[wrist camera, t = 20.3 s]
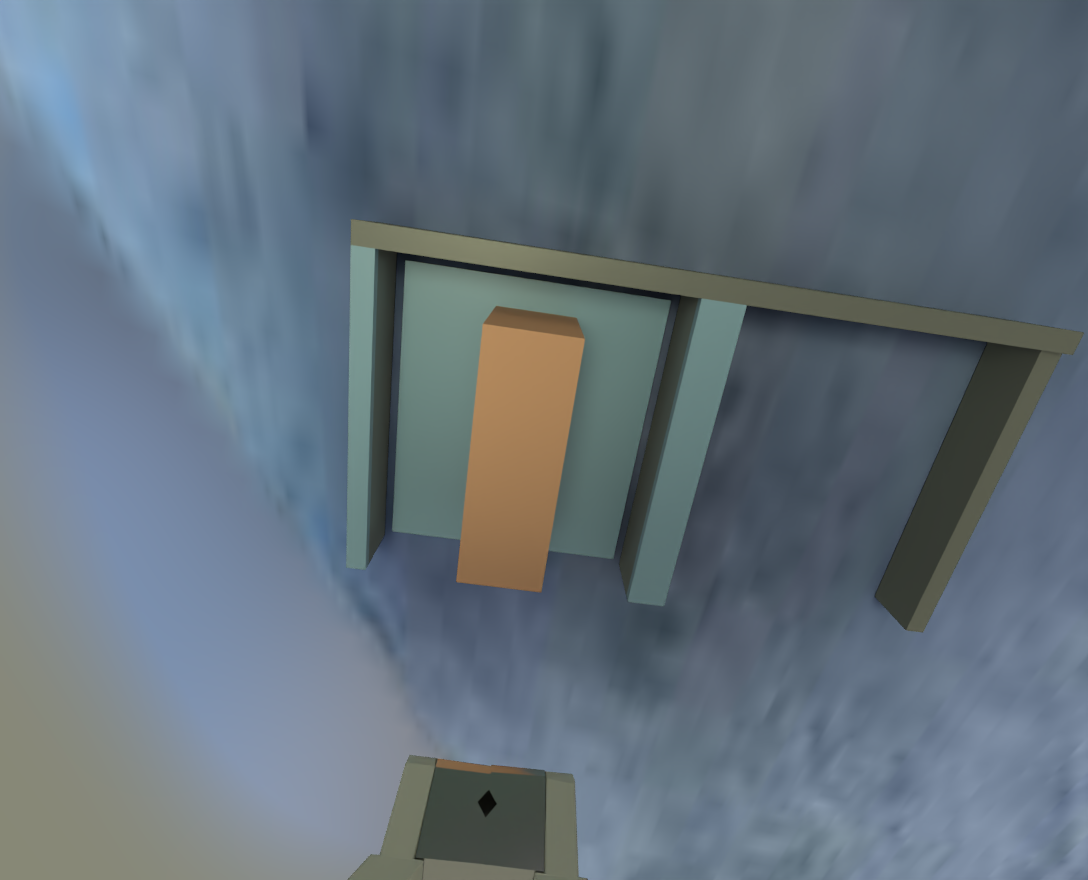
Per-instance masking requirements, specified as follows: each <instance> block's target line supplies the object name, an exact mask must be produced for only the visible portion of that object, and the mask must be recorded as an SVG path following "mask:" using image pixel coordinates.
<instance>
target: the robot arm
mask: <svg viewBox="0 0 1088 880" xmlns="http://www.w3.org/2000/svg"><path fill="white" fill-rule="evenodd" d="M348 880H588V879H587V878H581V877H579V874H578V849H577V824H576V798H575V780H574V778H573V775H572V774H567V773H556V772H545V771H544V770H537V769H527V768H517V767H507V766H497V765H491V766H488V765H480V764H473V763H466V762H459V761H451V760H444V759H438V758H431V757H422V756H413V755H410V756H409V758H408V760H407V762H406V764H405V768H404V771H403V774H402V778H401V782H400V785H399V789H398V792H397V796H396V799H395V803H394V806H393V810H392V813H391V817H390V820H389V824H388V828H387V831H386V834H385V838H384V841H383V845H382V849H381V852H380V855H372V854H371V855H370V856H369V857H368V858H367V859H366V860H365V861H364V862H363V863H362V864H361V865H360V867H359V868H358V869H357V870H356V871H355V872H354V873H353V874H352V875H351V876H350V878H348Z"/></svg>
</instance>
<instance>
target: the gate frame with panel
mask: <svg viewBox="0 0 1088 880" xmlns="http://www.w3.org/2000/svg"><path fill="white" fill-rule="evenodd" d="M397 252H400V253H407V254H413V255H420V256H427V257H433V258H440V259H446V260H453V261H459V262H466V263H472V264H479V265H486V266H492V267H499V268H505V269H512V270H518V271H525V272H532V273H538V274H545V275H551V276H558V277H564V278H571V279H577V280H584V281H591V282H597V283H604V284H610V285H617V286H623V287H630V288H637V289H643V290H650V291H656V292H663V293H669V294H676V295H681V298H680V302H679V307H678V311H677V315H676V320H675V324H674V328H673V333H672V337H671V341H670V346H669V350H668V354H667V359H666V363H665V367H664V372H663V376H662V380H661V385H660V389H659V393H658V398H657V402H656V406H655V411H654V415H653V419H652V424H651V428H650V432H649V437H648V441H647V445H646V450H645V454H644V458H643V463H642V467H641V471H640V476H639V480H638V484H637V489H636V493H635V497H634V502H633V506H632V510H631V515H630V519H629V523H628V528H627V532H626V536H625V541H624V545H623V549H622V554H621V558H620V562H619V566H620V571H621V575H622V579H623V584H624V588H625V593H626V597H627V601H628V602H633V603H641V604H649V605H657V606H664V604H665V601H666V597H667V594H668V590H669V586H670V583H671V579H672V575H673V572H674V568H675V565H676V561H677V557H678V554H679V550H680V546H681V543H682V539H683V536H684V532H685V528H686V525H687V521H688V517H689V514H690V510H691V507H692V503H693V499H694V496H695V492H696V488H697V485H698V481H699V478H700V474H701V470H702V467H703V463H704V459H705V456H706V452H707V448H708V445H709V441H710V438H711V434H712V430H713V427H714V423H715V419H716V416H717V412H718V409H719V405H720V401H721V398H722V394H723V390H724V387H725V383H726V380H727V376H728V372H729V369H730V365H731V361H732V358H733V354H734V351H735V347H736V343H737V340H738V336H739V332H740V329H741V325H742V322H743V318H744V314H745V311H746V307H747V305H748V306H755V307H761V308H768V309H774V310H781V311H787V312H794V313H801V314H807V315H814V316H820V317H827V318H833V319H840V320H847V321H853V322H860V323H866V324H873V325H879V326H886V327H892V328H899V329H906V330H912V331H919V332H925V333H932V334H938V335H945V336H952V337H958V338H965V339H971V340H978V341H984V342H988V343H987V345H986V348H985V350H984V352H983V354H982V356H981V359H980V361H979V363H978V365H977V368H976V370H975V372H974V374H973V377H972V379H971V381H970V383H969V386H968V388H967V390H966V392H965V395H964V397H963V399H962V401H961V404H960V406H959V408H958V410H957V413H956V415H955V417H954V419H953V422H952V424H951V426H950V428H949V431H948V433H947V435H946V437H945V440H944V442H943V444H942V446H941V449H940V451H939V453H938V455H937V458H936V460H935V462H934V464H933V467H932V469H931V471H930V473H929V475H928V478H927V480H926V482H925V484H924V487H923V489H922V491H921V493H920V496H919V498H918V500H917V502H916V505H915V507H914V509H913V511H912V514H911V516H910V518H909V520H908V523H907V525H906V527H905V529H904V532H903V534H902V536H901V538H900V541H899V543H898V545H897V547H896V550H895V552H894V554H893V556H892V559H891V561H890V563H889V565H888V568H887V570H886V572H885V574H884V577H883V579H882V581H881V583H880V586H879V588H878V590H877V592H876V594H875V597H876V598H877V600H878V601H879V602H880V603H881V604H882V605H883V606H884V607H885V608H886V609H887V610H888V611H889V613H890V614H891V615H892V616H893V617H894V618H895V619H896V620H897V621H898V622H899V623H900V624H901V626H902V627H903V628H904V629H905V630H908V631H916V632H923V631H924V629H925V627H926V625H927V623H928V621H929V619H930V617H931V615H932V613H933V611H934V609H935V607H936V605H937V603H938V601H939V599H940V597H941V595H942V593H943V591H944V589H945V587H946V585H947V583H948V581H949V579H950V577H951V575H952V573H953V571H954V569H955V567H956V565H957V563H958V561H959V559H960V557H961V555H962V553H963V551H964V549H965V547H966V545H967V543H968V541H969V539H970V537H971V535H972V533H973V531H974V529H975V527H976V525H977V523H978V521H979V519H980V517H981V515H982V513H983V511H984V509H985V507H986V505H987V503H988V501H989V499H990V497H991V495H992V493H993V491H994V489H995V487H996V485H997V483H998V481H999V479H1000V477H1001V475H1002V473H1003V471H1004V469H1005V467H1006V465H1007V463H1008V461H1009V459H1010V457H1011V455H1012V453H1013V451H1014V449H1015V447H1016V445H1017V443H1018V441H1019V439H1020V437H1021V435H1022V433H1023V431H1024V429H1025V427H1026V425H1027V423H1028V421H1029V419H1030V417H1031V415H1032V413H1033V411H1034V409H1035V407H1036V405H1037V403H1038V401H1039V399H1040V397H1041V395H1042V393H1043V391H1044V389H1045V387H1046V385H1047V383H1048V381H1049V379H1050V377H1051V375H1052V373H1053V371H1054V369H1055V367H1056V365H1057V363H1058V361H1059V359H1060V357H1061V355H1062V353H1063V354H1070V355H1073V354H1074V352H1075V350H1076V348H1077V346H1078V344H1079V342H1080V340H1081V338H1082V336H1083V334H1084V333H1083V332H1077V331H1072V330H1066V329H1060V328H1054V327H1048V326H1042V325H1036V324H1031V323H1025V322H1019V321H1013V320H1006V319H1000V318H993V317H987V316H980V315H974V314H968V313H961V312H955V311H948V310H942V309H935V308H929V307H922V306H916V305H909V304H903V303H897V302H890V301H884V300H877V299H871V298H864V297H858V296H851V295H845V294H838V293H832V292H826V291H819V290H813V289H806V288H800V287H793V286H787V285H780V284H774V283H767V282H761V281H754V280H748V279H742V278H735V277H729V276H722V275H716V274H709V273H703V272H696V271H690V270H683V269H677V268H671V267H664V266H658V265H651V264H645V263H638V262H632V261H625V260H619V259H612V258H606V257H600V256H593V255H587V254H580V253H574V252H567V251H561V250H554V249H548V248H541V247H535V246H529V245H522V244H516V243H509V242H503V241H496V240H490V239H483V238H477V237H470V236H464V235H458V234H451V233H445V232H438V231H432V230H425V229H419V228H412V227H406V226H399V225H393V224H387V223H380V222H372V221H363V220H354V219H351V271H350V343H349V415H348V487H347V559H346V568H355V569H363V570H366V568H367V566H368V565H369V563H370V561H371V559H372V557H373V555H374V553H375V552H376V550H377V548H378V546H379V544H380V542H381V541H382V539H383V537H384V535H385V515H386V492H387V469H388V446H389V422H390V399H391V376H392V353H393V330H394V307H395V284H396V261H397ZM670 304H671V300H667V299H660V298H654V297H647V296H641V295H634V294H627V293H621V292H614V291H608V290H601V289H594V288H588V287H581V286H575V285H568V284H562V283H555V282H548V281H542V280H535V279H529V278H522V277H515V276H509V275H502V274H496V273H489V272H482V271H476V270H469V269H463V268H456V267H450V266H443V265H436V264H430V263H423V262H417V261H410V260H405V279H404V300H403V320H402V341H401V361H400V381H399V402H398V422H397V443H396V463H395V483H394V504H393V524H392V531H394V532H402V533H410V534H418V535H426V536H434V537H442V538H450V539H458V540H461V531H462V521H463V511H464V502H465V492H466V482H467V472H468V463H469V453H470V443H471V434H472V424H473V414H474V405H475V395H476V385H477V375H478V366H479V356H480V346H481V337H482V327H483V323H484V322H485V320H486V319H487V318H488V316H489V315H490V314H491V312H492V311H493V309H494V308H495V307H496V306H502V307H508V308H515V309H522V310H528V311H535V312H542V313H548V314H555V315H562V316H569V317H575V318H577V320H578V323H579V325H580V328H581V330H582V333H583V335H584V338H585V342H584V348H583V354H582V359H581V365H580V371H579V377H578V383H577V388H576V394H575V400H574V406H573V411H572V417H571V423H570V429H569V435H568V440H567V446H566V452H565V458H564V463H563V469H562V475H561V481H560V487H559V492H558V498H557V504H556V510H555V515H554V521H553V527H552V533H551V539H550V544H549V550H548V551H553V552H561V553H569V554H577V555H585V556H592V557H600V558H608V559H613V557H614V553H615V548H616V544H617V539H618V535H619V530H620V526H621V521H622V517H623V513H624V508H625V504H626V499H627V495H628V490H629V486H630V481H631V477H632V473H633V468H634V464H635V459H636V455H637V450H638V446H639V441H640V437H641V433H642V428H643V424H644V419H645V415H646V410H647V406H648V401H649V397H650V393H651V388H652V384H653V379H654V375H655V370H656V366H657V361H658V357H659V353H660V348H661V344H662V339H663V335H664V330H665V326H666V321H667V317H668V313H669V308H670Z"/></svg>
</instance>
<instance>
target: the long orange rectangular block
mask: <svg viewBox="0 0 1088 880" xmlns="http://www.w3.org/2000/svg"><path fill="white" fill-rule="evenodd" d="M584 342H585V338H584V335H583V333H582V330H581V328H580V325H579V323H578V320H577V318H575V317H569V316H562V315H555V314H548V313H542V312H535V311H528V310H522V309H515V308H508V307H502V306H496V307H495V308H494V309H493V311H492V312H491V314H490V315H489V316H488V318H487V319H486V320H485V322H484V323H483V327H482V337H481V346H480V356H479V366H478V375H477V385H476V395H475V405H474V414H473V424H472V434H471V443H470V453H469V463H468V472H467V482H466V492H465V502H464V511H463V521H462V531H461V540H460V550H459V560H458V569H457V579H456V582H460V583H468V584H476V585H485V586H493V587H501V588H509V589H517V590H525V591H534V592H541V591H542V585H543V579H544V573H545V567H546V562H547V556H548V550H549V544H550V539H551V533H552V527H553V521H554V515H555V510H556V504H557V498H558V492H559V487H560V481H561V475H562V469H563V463H564V458H565V452H566V446H567V440H568V435H569V429H570V423H571V417H572V411H573V406H574V400H575V394H576V388H577V383H578V377H579V371H580V365H581V359H582V354H583V348H584Z"/></svg>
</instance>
